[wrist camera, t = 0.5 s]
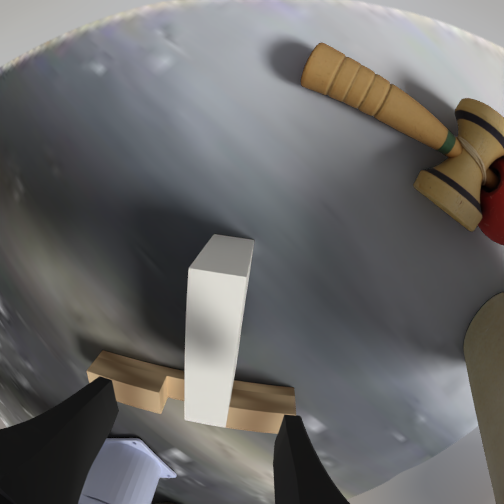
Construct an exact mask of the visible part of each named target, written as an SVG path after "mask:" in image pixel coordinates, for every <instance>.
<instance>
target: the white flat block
mask: <svg viewBox="0 0 504 504" xmlns="http://www.w3.org/2000/svg"><path fill="white" fill-rule="evenodd" d="M253 246H254V240H251V239H244V238H237V237H231V236H224V235H217V234H214V235H213V236H212V237H211V239H210V240H209V241H208V243H207V244H206V245H205V247H204V248H203V249H202V251H201V252H200V253H199V255H198V256H197V257H196V259H195V260H194V261H193V263H192V264H191V266H190V267H189V271H188V287H187V307H186V332H185V420H187V421H192V422H197V423H202V424H207V425H213V426H219V427H225V428H226V422H227V416H228V411H229V405H230V399H231V393H232V387H233V382H234V376H235V370H236V363H237V357H238V350H239V343H240V336H241V335H240V334H241V327H242V320H243V313H244V306H245V299H246V293H247V288H248V281H249V274H250V267H251V260H252V253H253Z"/></svg>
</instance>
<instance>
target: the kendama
mask: <svg viewBox="0 0 504 504" xmlns="http://www.w3.org/2000/svg"><path fill="white" fill-rule="evenodd" d="M301 86H302V87H305V88H308V89H310V90H313V91H316V92H319V93H321V94H324V95H329V97H331V98H334V99H336V100H338V101H341V102H344V103H346V104H347V105H349V106H352V107H354V108H358V109H359V110H360V111H362V112H364V113H366V114H368V115H370V116H374V118H376V119H378V120H379V121H381V122H383V123H385V124H387V125H389V126H391V127H392V128H394V129H396V130H398V131H400V132H402V133H404V134H406V135H408V136H409V137H411V138H413V139H416V140H418V141H419V142H421V143H423V144H425V145H427V146H429V147H431V148H433V149H435V150H436V151H438V152H440V153H442V154H444V155H445V156H447V157H448V158H447V159H446V160H445V161H444V162H442V163H441V164H439V165H437V166H435V167H433V168H430V169H425V170H421V171H420V173H419V175H418V177H417V179H416V181H415V182H414V184H413V186H414V188H415V189H416V190H417V191H419V192H420V193H421V194H423V195H424V196H425V197H427V198H428V199H430V200H431V201H432V202H433V203H434V204H435V205H437V206H438V207H439V208H440V209H442V210H443V211H444V212H446V213H447V214H448V215H450V216H451V217H452V218H453V219H455V220H456V221H457V222H459V223H460V224H461V225H462V226H464V227H465V228H466V229H468V230H469V231H472V232H473V231H474V230H475V228H476V227H477V225H478V226H479V228H480V229H481V231H482V232H483V233H484V234H485V235H486V236H487V237H488V238H490V239H491V240H492V241H494V242H496V243H498V244H501V245H504V117H502V116H501V115H500V114H499V113H498V112H497V111H495V110H494V109H492V108H491V107H490V106H488V105H486V104H484V103H482V102H480V101H477V100H474V99H470V98H465V99H462V100H461V101H460V102H459V104H458V106H457V108H456V109H455V116H456V119H457V123H458V137H455V136H454V135H453V134H452V133H451V132H450V131H449V130H448V129H447V128H446V127H445V126H444V125H443V124H442V123H441V122H440V121H439V120H438V119H437V118H436V117H434V116H433V115H432V114H431V113H430V112H429V111H428V110H427V109H426V108H424V107H423V106H422V105H421V104H420V103H418V102H417V101H416V100H415V99H413V98H412V97H411V96H409V95H408V94H407V93H405V92H404V91H402V90H401V89H399V88H398V87H396V86H395V85H393V84H390V82H389V81H387V80H386V79H384V78H383V77H381V76H380V75H377V74H375V73H374V72H373V71H372V70H370V69H368V68H367V67H365V66H363V65H361V64H360V63H358V62H357V61H355V60H353V59H351V58H349V57H346V56H345V55H344V54H343V53H341V52H339V51H337V50H336V49H334V48H332V47H330V46H328V45H327V44H325V43H319V44H318V45H317V46H316V47H315V48H314V50H313V51H312V53H311V54H310V57H309V58H308V60H307V63H306V65H305V67H304V70H303V73H302V77H301Z"/></svg>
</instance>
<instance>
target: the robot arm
mask: <svg viewBox="0 0 504 504" xmlns="http://www.w3.org/2000/svg"><path fill="white" fill-rule="evenodd" d="M118 411H119V410H118V406H117V401H116V397H115V392H114V387H113V382H112V380H110V379H107V378H104V377H101V376H99V377H98V378H96V379H95V380H93V381H92V382H91V383H89V384H88V385H86V386H85V387H84V388H82V389H81V390H79V391H78V392H76V393H75V394H74V395H72V396H71V397H69V398H68V399H66V400H65V401H63V402H62V403H60V404H58V405H57V406H55V407H53V408H52V409H50V410H48V411H46V412H45V413H43V414H41V415H39V416H37V417H35V418H32V419H30V420H28V421H25V422H22V423H20V424H17V425H14V426H11V427H8V428H4V429H0V504H151V502H152V499H153V496H154V493H155V490H156V487H157V483H158V480H159V477H163V478H175V477H176V475H177V474H176V473H175V472H174V471H173V470H171V469H170V468H169V467H168V466H167V465H166V464H165V463H164V462H163V461H162V460H161V459H160V458H159V457H158V456H157V455H156V454H155V453H154V452H153V451H152V450H151V449H150V448H149V447H148V446H147V445H146V444H145V443H144V442H143V441H142V440H141V439H139V438H107V437H108V435H109V433H110V431H111V429H112V427H113V424H114V422H115V419H116V416H117V414H118ZM273 469H274V489H275V504H350V503H349V502H348V501H347V500H346V498H345V497H344V496H343V495H342V493H341V492H340V491H339V489H338V488H337V487H336V485H335V484H334V483H333V481H332V480H331V478H330V477H329V475H328V473H327V472H326V470H325V468H324V467H323V465H322V463H321V461H320V460H319V458H318V456H317V454H316V452H315V450H314V448H313V446H312V443H311V441H310V439H309V437H308V434H307V432H306V429H305V427H304V424H303V421H302V418H301V417H300V416H297V415H285V414H284V417H283V420H282V423H281V426H280V429H279V432H278V435H277V438H276V440H275V446H274V460H273Z"/></svg>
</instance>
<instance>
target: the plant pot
mask: <svg viewBox="0 0 504 504" xmlns="http://www.w3.org/2000/svg"><path fill="white" fill-rule="evenodd" d="M463 350H464V356H465V361H466V366H467V372H468V377H469V382H470V387H471V392H472V397H473V401H474V406H475V411H476V415H477V420H478V425H479V429H480V433H481V438H482V443H483V447H484V452H485V456H486V461H487V465H488V469H489V474H490V478H491V482H492V487H493V491H494V496H495V501H496V504H504V292H502V293H499V294H497V295H495V296H494V297H492V298H491V299H490V300H489V301H487V302H486V303H485V304H484V305H483V306H482V307H481V309H480V310H479V311H478V312H477V314H476V315H475V317H474V318H473V320H472V322H471V323H470V325H469V328H468V330H467V332H466V335H465V339H464V346H463Z"/></svg>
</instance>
